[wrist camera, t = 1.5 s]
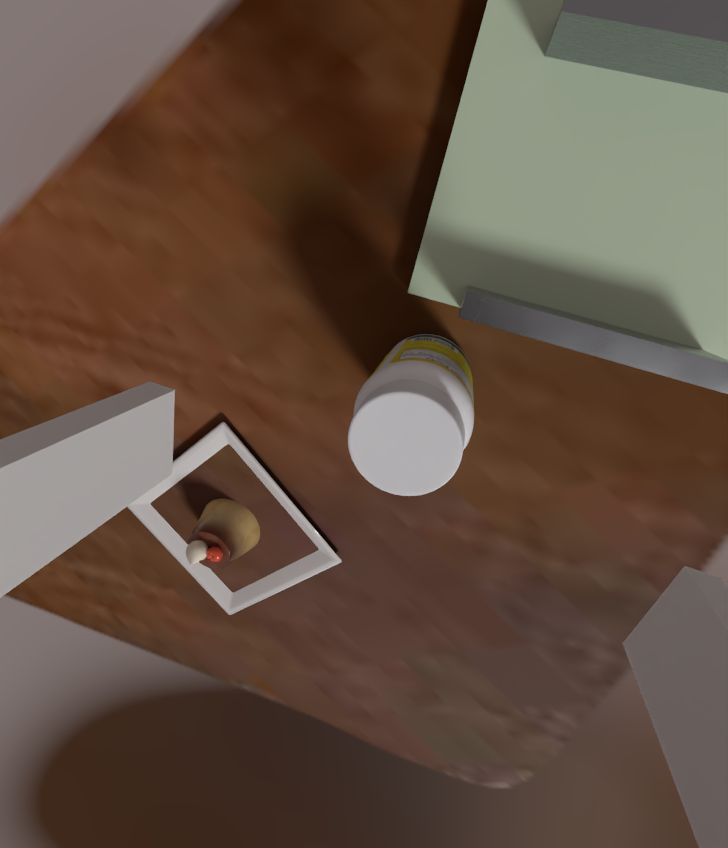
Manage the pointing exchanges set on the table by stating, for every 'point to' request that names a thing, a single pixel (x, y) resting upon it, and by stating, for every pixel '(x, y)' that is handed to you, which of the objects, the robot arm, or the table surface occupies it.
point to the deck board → (582, 189)
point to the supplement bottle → (413, 417)
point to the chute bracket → (655, 58)
